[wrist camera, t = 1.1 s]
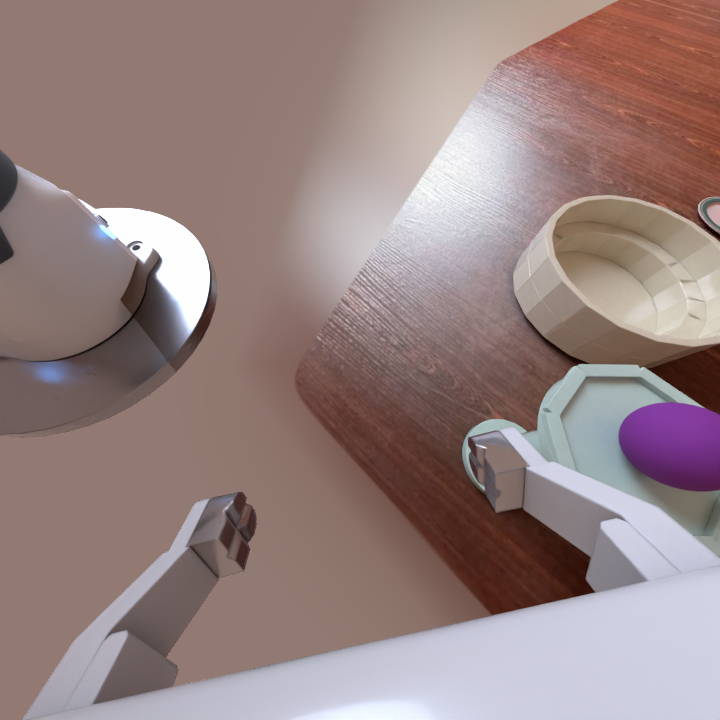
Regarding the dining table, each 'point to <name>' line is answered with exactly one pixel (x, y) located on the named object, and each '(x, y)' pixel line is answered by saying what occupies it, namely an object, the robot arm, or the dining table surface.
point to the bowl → (621, 282)
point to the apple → (710, 212)
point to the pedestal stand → (610, 439)
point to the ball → (674, 445)
